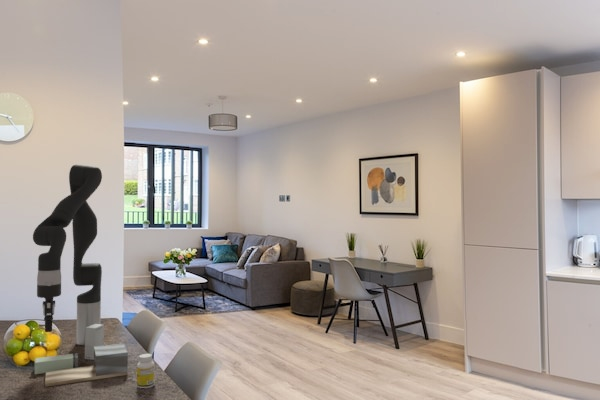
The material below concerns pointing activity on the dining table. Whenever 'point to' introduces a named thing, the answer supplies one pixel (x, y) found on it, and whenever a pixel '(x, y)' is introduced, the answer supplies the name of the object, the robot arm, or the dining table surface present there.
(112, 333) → the dining table surface
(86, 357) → the skincare box
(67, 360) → the grey-green rectangular block
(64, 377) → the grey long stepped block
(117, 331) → the dining table surface
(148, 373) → the supplement bottle
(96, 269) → the robot arm
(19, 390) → the dining table surface
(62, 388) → the dining table surface
